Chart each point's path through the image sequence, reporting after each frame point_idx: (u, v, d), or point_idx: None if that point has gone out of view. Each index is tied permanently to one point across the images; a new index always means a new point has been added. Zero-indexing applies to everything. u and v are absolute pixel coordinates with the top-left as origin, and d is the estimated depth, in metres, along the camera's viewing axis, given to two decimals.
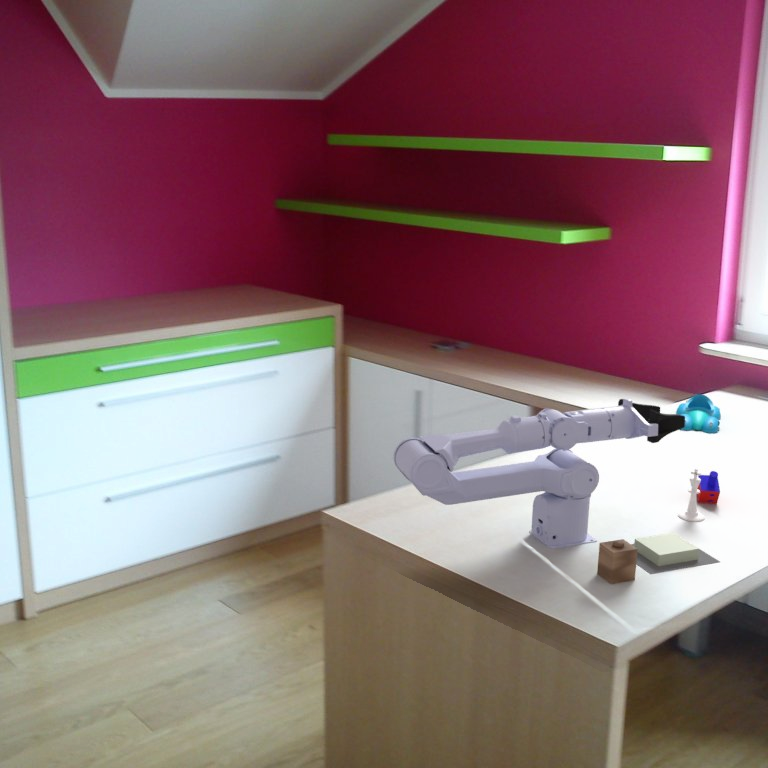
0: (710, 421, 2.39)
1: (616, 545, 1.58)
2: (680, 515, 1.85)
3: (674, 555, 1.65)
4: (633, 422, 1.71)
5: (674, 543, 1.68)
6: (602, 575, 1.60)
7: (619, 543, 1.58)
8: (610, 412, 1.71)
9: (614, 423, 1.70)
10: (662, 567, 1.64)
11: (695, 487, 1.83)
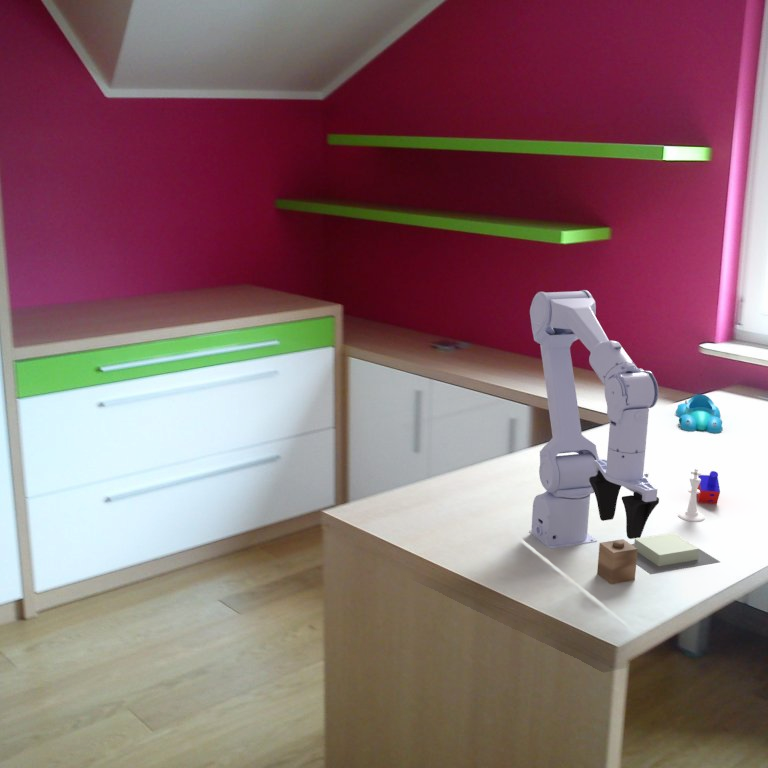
0: (714, 421, 2.39)
1: (616, 545, 1.58)
2: (680, 515, 1.85)
3: (674, 555, 1.65)
4: (637, 478, 1.53)
5: (674, 543, 1.68)
6: (602, 575, 1.60)
7: (619, 543, 1.58)
8: None
9: (640, 455, 1.52)
10: (662, 567, 1.64)
11: (695, 487, 1.83)
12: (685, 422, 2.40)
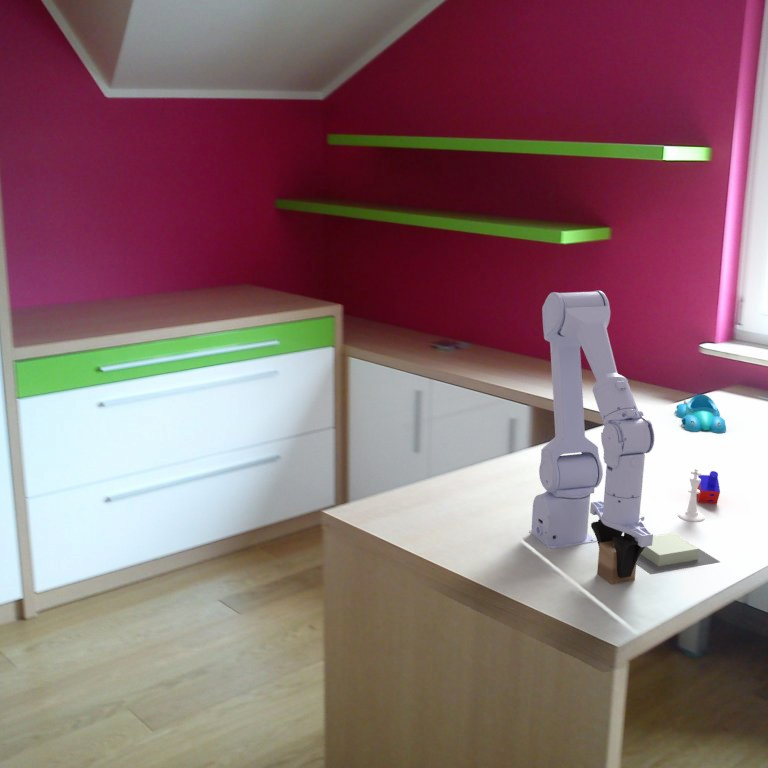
0: (718, 421, 2.39)
1: None
2: (680, 515, 1.85)
3: (674, 555, 1.65)
4: (633, 522, 1.55)
5: (674, 543, 1.68)
6: (602, 575, 1.60)
7: None
8: None
9: (636, 500, 1.54)
10: (662, 567, 1.64)
11: (695, 487, 1.83)
12: (690, 423, 2.39)
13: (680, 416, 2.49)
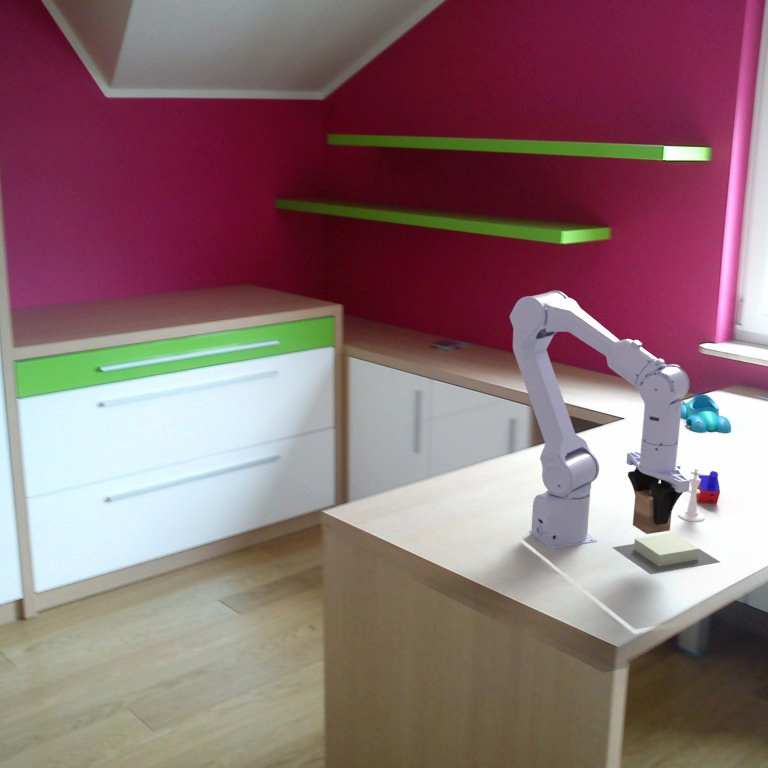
0: (723, 421, 2.39)
1: None
2: (680, 515, 1.85)
3: (674, 555, 1.65)
4: (670, 470, 1.59)
5: (674, 543, 1.68)
6: (638, 523, 1.64)
7: None
8: (677, 444, 1.60)
9: (673, 448, 1.58)
10: (662, 567, 1.64)
11: (695, 487, 1.83)
12: (696, 423, 2.39)
13: (681, 417, 2.49)
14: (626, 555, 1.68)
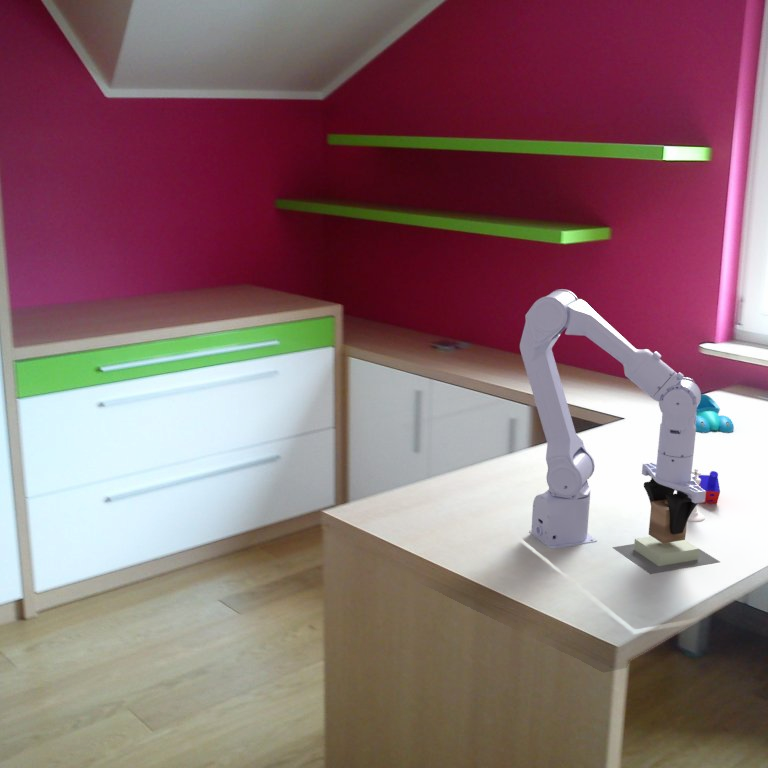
0: (726, 420, 2.39)
1: None
2: None
3: (674, 555, 1.65)
4: (686, 481, 1.63)
5: (674, 543, 1.68)
6: (654, 532, 1.67)
7: None
8: None
9: (689, 459, 1.62)
10: (662, 567, 1.64)
11: None
12: (700, 423, 2.38)
13: None
14: (626, 555, 1.68)
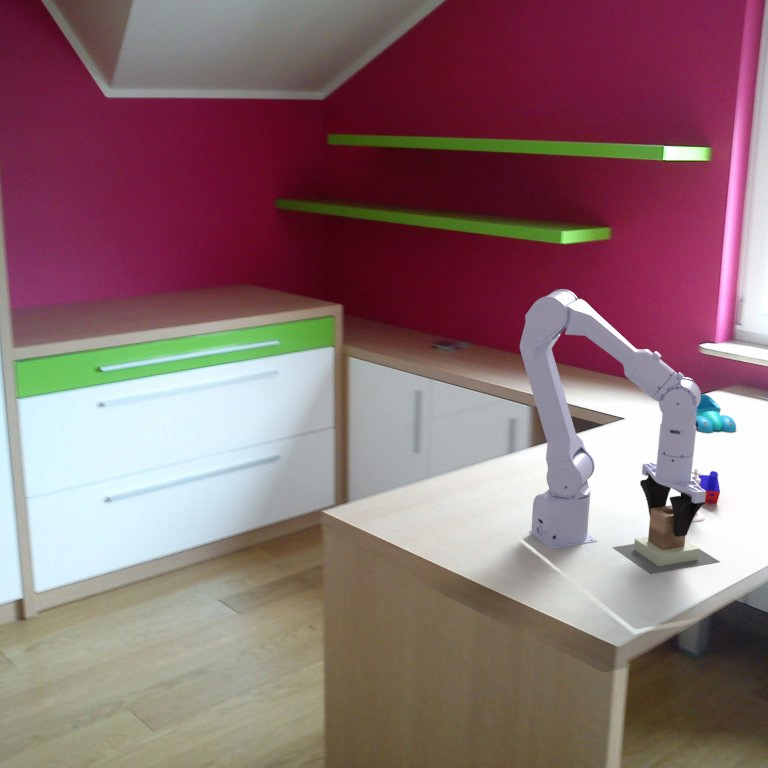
0: (728, 420, 2.40)
1: (667, 510, 1.66)
2: None
3: (674, 555, 1.65)
4: (686, 481, 1.63)
5: None
6: (653, 539, 1.68)
7: (670, 508, 1.66)
8: None
9: (689, 459, 1.62)
10: (662, 567, 1.64)
11: None
12: (703, 424, 2.38)
13: None
14: (626, 555, 1.68)
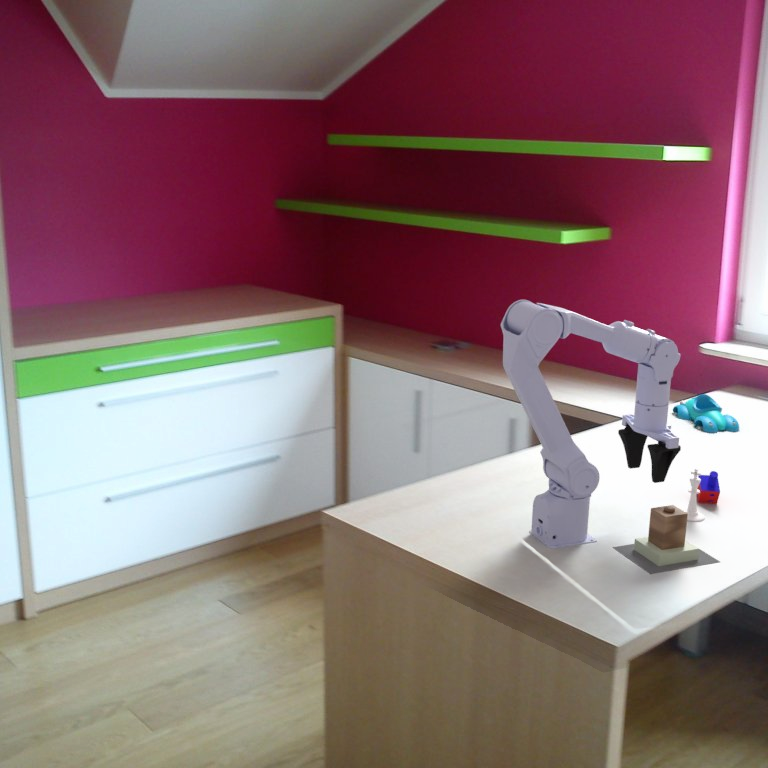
0: (731, 420, 2.40)
1: (667, 510, 1.66)
2: None
3: (674, 555, 1.65)
4: (661, 429, 1.73)
5: None
6: (653, 539, 1.68)
7: (670, 508, 1.66)
8: None
9: (664, 409, 1.73)
10: (662, 567, 1.64)
11: (695, 487, 1.83)
12: (708, 424, 2.38)
13: (684, 418, 2.48)
14: (626, 555, 1.68)
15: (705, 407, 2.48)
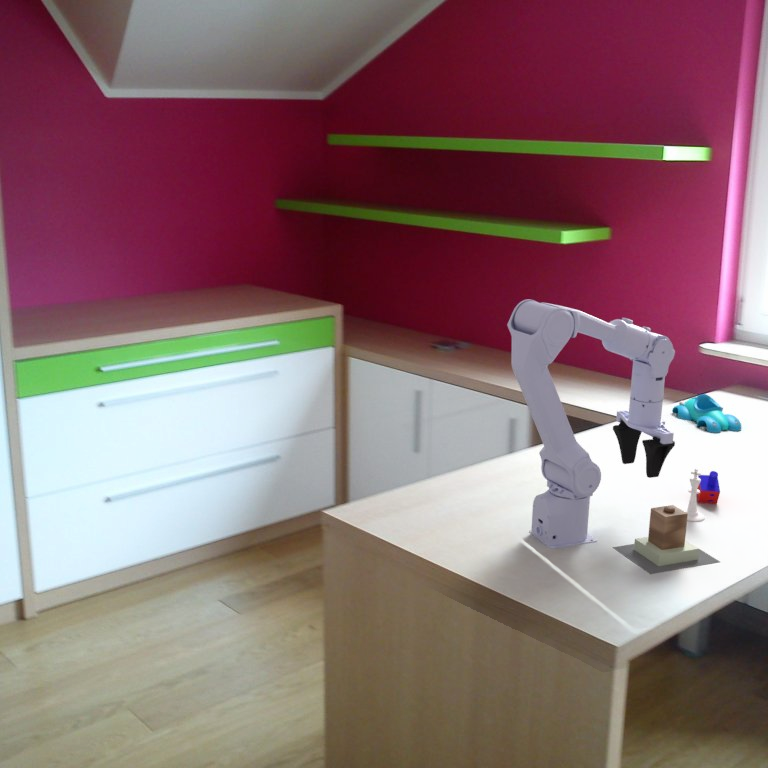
0: (734, 419, 2.40)
1: (667, 510, 1.66)
2: None
3: (674, 555, 1.65)
4: (656, 425, 1.76)
5: None
6: (653, 539, 1.68)
7: (670, 508, 1.66)
8: (662, 401, 1.77)
9: (658, 405, 1.75)
10: (662, 567, 1.64)
11: (695, 487, 1.83)
12: (712, 424, 2.38)
13: (685, 418, 2.48)
14: (626, 555, 1.68)
15: (705, 407, 2.49)
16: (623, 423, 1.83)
